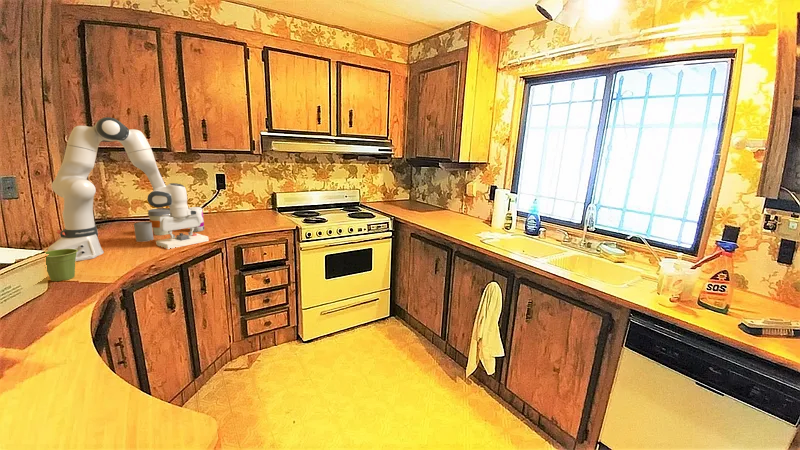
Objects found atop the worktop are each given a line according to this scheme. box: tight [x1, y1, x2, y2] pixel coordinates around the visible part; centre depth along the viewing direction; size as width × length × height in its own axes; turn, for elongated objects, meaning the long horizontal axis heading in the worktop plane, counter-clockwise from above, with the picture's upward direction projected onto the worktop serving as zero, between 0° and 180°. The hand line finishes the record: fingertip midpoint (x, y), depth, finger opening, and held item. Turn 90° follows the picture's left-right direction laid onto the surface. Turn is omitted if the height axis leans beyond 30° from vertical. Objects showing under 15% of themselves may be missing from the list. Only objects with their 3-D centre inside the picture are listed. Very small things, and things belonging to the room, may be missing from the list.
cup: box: [133, 221, 155, 243], centre depth 206 cm, size 8×8×10 cm
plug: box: [175, 232, 189, 241], centre depth 202 cm, size 4×6×6 cm
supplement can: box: [188, 206, 205, 233], centre depth 230 cm, size 8×8×15 cm
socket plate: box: [155, 232, 210, 250], centre depth 202 cm, size 22×13×3 cm, turn 146°
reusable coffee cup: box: [147, 207, 170, 236], centre depth 220 cm, size 12×13×15 cm
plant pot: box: [44, 249, 78, 282], centre depth 146 cm, size 12×12×11 cm
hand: (181, 236), depth 201 cm, fingers open, 8 cm apart
